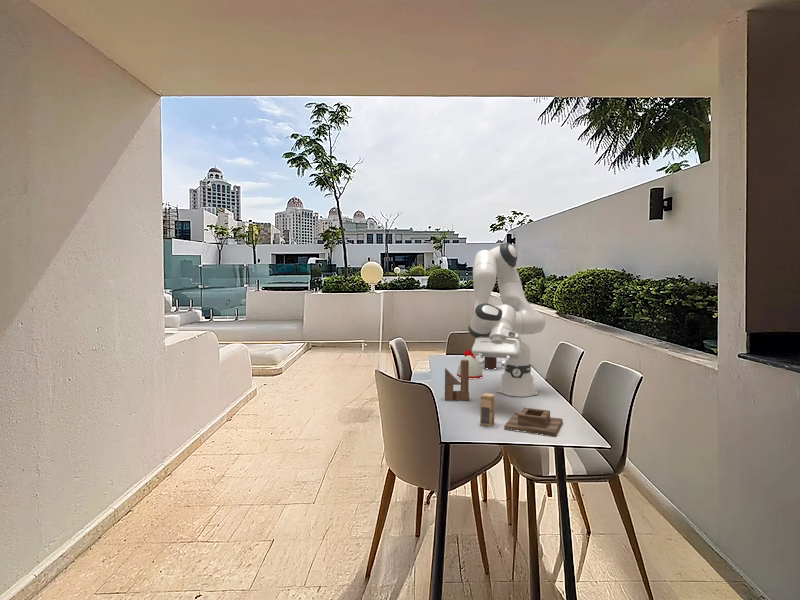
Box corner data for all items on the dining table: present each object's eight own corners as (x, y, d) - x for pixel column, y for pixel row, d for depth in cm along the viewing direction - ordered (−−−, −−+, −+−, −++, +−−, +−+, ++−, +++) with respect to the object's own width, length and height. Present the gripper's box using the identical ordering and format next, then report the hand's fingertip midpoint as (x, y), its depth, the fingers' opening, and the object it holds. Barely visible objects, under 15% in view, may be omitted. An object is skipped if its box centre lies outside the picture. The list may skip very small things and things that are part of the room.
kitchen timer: (466, 373, 279) (467, 346, 278) (487, 376, 269) (487, 349, 268) (451, 376, 269) (452, 349, 268) (472, 380, 259) (472, 352, 258)
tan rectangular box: (484, 421, 189) (484, 393, 188) (494, 422, 187) (494, 394, 186) (480, 425, 184) (480, 396, 183) (490, 426, 182) (490, 397, 182)
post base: (515, 416, 195) (515, 404, 195) (562, 422, 187) (562, 409, 187) (504, 429, 179) (504, 416, 179) (555, 436, 171) (555, 422, 171)
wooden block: (444, 398, 222) (444, 359, 221) (468, 398, 222) (468, 359, 221) (445, 400, 219) (445, 360, 218) (469, 400, 219) (469, 360, 218)
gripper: (474, 331, 208) (466, 357, 200) (522, 334, 198) (515, 361, 190) (478, 341, 212) (470, 367, 204) (525, 343, 202) (518, 371, 194)
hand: (492, 364), depth 197 cm, fingers open, 8 cm apart
